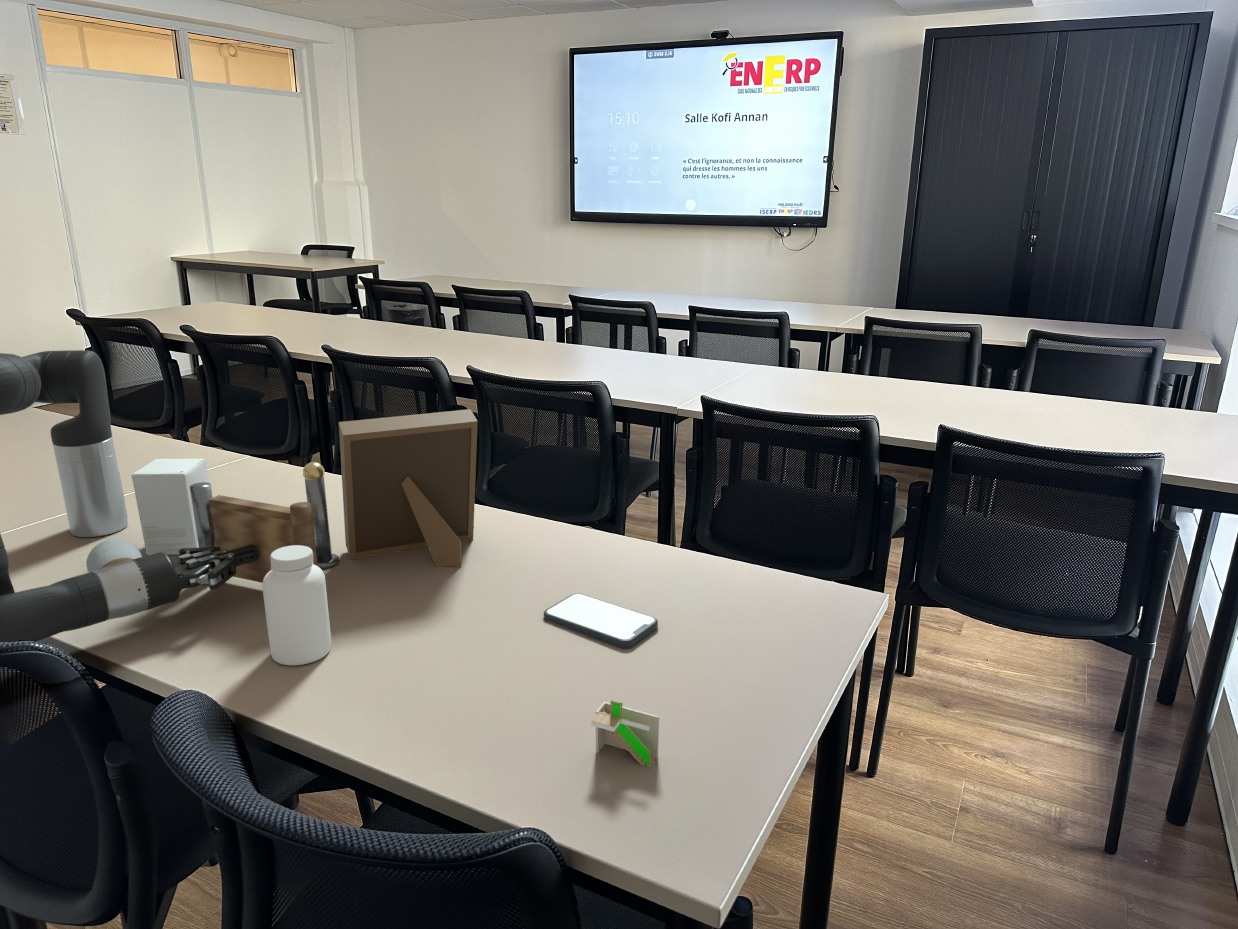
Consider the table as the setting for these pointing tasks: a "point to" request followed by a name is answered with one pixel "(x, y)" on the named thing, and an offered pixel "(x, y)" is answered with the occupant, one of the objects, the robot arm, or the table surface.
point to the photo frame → (409, 484)
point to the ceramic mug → (111, 554)
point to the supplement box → (168, 503)
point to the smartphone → (601, 620)
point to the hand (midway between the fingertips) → (256, 551)
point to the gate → (260, 530)
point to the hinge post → (203, 514)
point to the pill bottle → (296, 607)
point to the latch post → (319, 514)
